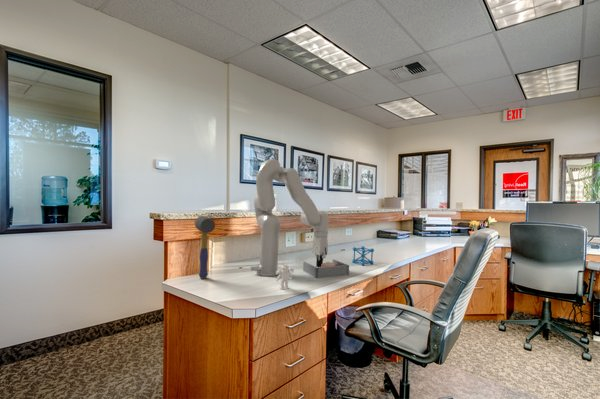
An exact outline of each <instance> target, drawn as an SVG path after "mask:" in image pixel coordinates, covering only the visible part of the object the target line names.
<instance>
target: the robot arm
mask: <svg viewBox="0 0 600 399" xmlns="http://www.w3.org/2000/svg"><path fill="white" fill-rule="evenodd" d="M274 181H276V182H279V183H280V184H284V185H285V186H286V189H287V191H288V192H289V195H290V197H291V199H292V201H293V202H295V204H297V205H298V206H299V207H300V208H301V210H302V211H303V212H302V213H301V215H300V222H301V223H302V224H303V225H306V226H309V227H312V228H313V229H314V231H313V232H314V233H313V238H312V239H313V240H312V247H311V252H312V253H313V254H314V255H315V259H316V263H315V264H316V265H315V267H317V268H319V267H321V264H323V263H324V259H326V258H327V257H326V256H328V251H329V250H328V248H329V247H328V246H329V245H328V244H329V243H328V232H329V213H327V212H320V211H318V208H317V206H316V204H315V203H314V201H313V199H312V198H311V196H309V194H308V192H307V191H306V189H305V186H304V185H303V182H302V179H301V177H300V174H299V172H298V171H297V170H296V169H295V168H293V167H290V168H289V167H288V168H285V167H283V166H281V163H280V161H278V160H277V159H275V158H269V159H266V160H264V161H262V162H261V164H260V167H259V170H258V172H257V175H256V179H255V185H256V193H257V195H255V197H254V200H253V205H254V206H253V207H254V213H255V218H256V222H257V225H258V227H259V228H260V229H261V231H260V232H261V233H260V244H259V249H260V250H259V251H260V252H259V263H258V264H257V265H256V266H250V271H254V272H256V274H257V275H259V276H264V277H275V276H279V273H278V274H276V272H277V270H278V269H279V268H278V267H279V266H278V265H279V239H280V238H279V237H280V230H281V220H280V218H279V216H278V215H276V214H274V213H273V210H274V209H275V207H276V199H275V198H276V197H275V193H274V192H275V191H274V185H273V182H274Z"/></svg>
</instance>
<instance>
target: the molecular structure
mask: <svg viewBox="0 0 600 399" xmlns="http://www.w3.org/2000/svg"><path fill="white" fill-rule="evenodd" d="M352 251H353V259H352V260H351V263H352V264H356V263H358V264H360V265H361V266H363V267H364V266H365V265H368V264H370V265H373V264H374V262H375V261H373V252H374V251H375V249H374V248H373V247H371V248H366V247H365V246H361V247H355V246H354V247H353V248H352ZM356 252H357V254H359V255H360V256H359V257H358V258H356V257H355V256H356ZM370 253H371V255H370V256H371V258H370V259H369V258H367V257H366V255H368V254H370Z"/></svg>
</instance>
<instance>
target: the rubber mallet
mask: <svg viewBox="0 0 600 399" xmlns="http://www.w3.org/2000/svg"><path fill="white" fill-rule="evenodd" d="M194 226H195V228H196V229H197V230H198V231H200V232H201V246H200V251H199V272H198V276H199V278H200V279H206V278H207V277H208V275H209V274H208V259H209V252H208V234H209V233H211V232H213V231H214V230H215V227H216V223H215V221H214V220H213V219H212V218H210V217H208V216H199V217H196V219H195V220H194Z"/></svg>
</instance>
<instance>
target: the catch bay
mask: <svg viewBox="0 0 600 399" xmlns="http://www.w3.org/2000/svg"><path fill="white" fill-rule="evenodd" d="M332 263H337V264H338V266H330V267H316V265H313V264H312V263H308V262H306V261H303V264H302V265H303V266H302V271H303V272H305V273H307V274H308V275H311V276H312V277H313V278H316V279H321V278H329V277H338V276H340V277H341V276H347V275H350V273H349V272H350V265H349V264H347V263H344V262H341V261H339V260H337V259H334V258H332Z"/></svg>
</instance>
